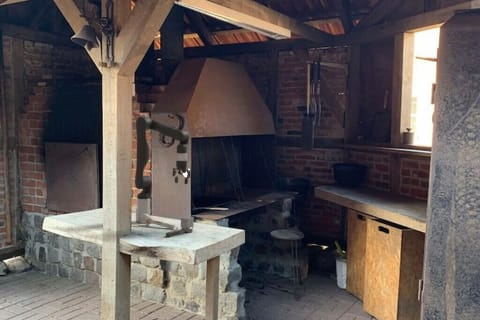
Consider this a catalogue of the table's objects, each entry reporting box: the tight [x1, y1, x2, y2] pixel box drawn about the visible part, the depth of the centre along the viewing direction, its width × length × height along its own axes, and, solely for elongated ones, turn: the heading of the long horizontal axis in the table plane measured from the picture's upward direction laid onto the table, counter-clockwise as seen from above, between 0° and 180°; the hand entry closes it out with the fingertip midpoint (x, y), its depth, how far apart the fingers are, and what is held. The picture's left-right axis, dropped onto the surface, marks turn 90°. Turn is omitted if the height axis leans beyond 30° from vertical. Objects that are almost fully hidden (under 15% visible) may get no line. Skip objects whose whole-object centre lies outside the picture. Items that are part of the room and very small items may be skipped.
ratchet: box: [165, 227, 194, 238], centre depth 285 cm, size 7×22×8 cm, turn 146°
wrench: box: [140, 214, 179, 231], centre depth 302 cm, size 8×2×30 cm
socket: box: [180, 215, 195, 229], centre depth 291 cm, size 6×6×6 cm
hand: (181, 183), depth 303 cm, fingers open, 8 cm apart
